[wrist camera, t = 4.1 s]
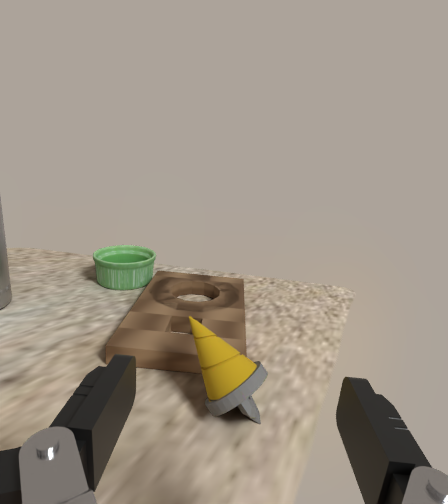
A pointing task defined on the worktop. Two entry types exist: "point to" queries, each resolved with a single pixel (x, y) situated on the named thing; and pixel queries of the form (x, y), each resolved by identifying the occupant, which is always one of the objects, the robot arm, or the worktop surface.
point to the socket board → (179, 321)
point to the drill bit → (226, 374)
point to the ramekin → (124, 266)
